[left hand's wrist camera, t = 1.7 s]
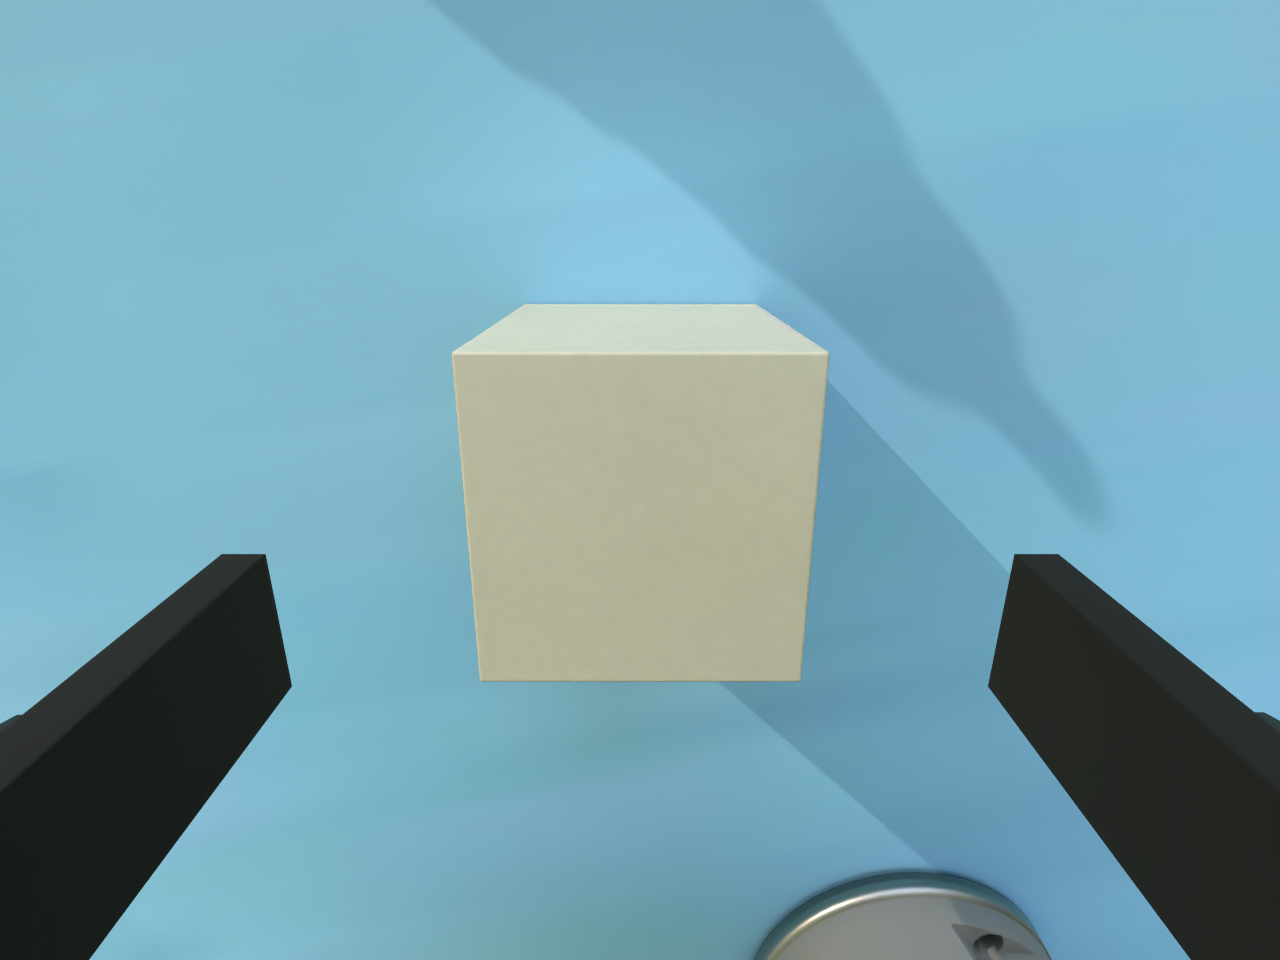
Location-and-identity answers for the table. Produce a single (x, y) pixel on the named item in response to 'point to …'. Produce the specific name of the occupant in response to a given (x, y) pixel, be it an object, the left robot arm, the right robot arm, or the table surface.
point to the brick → (640, 492)
